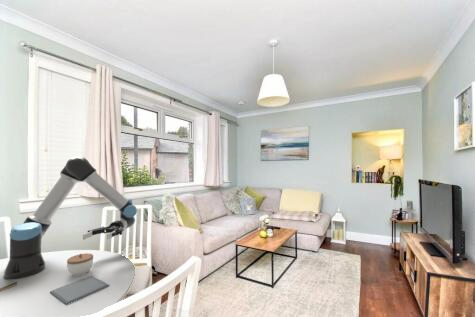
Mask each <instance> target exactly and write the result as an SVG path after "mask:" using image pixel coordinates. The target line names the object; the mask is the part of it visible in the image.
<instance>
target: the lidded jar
mask: <svg viewBox="0 0 475 317" xmlns="http://www.w3.org/2000/svg"><path fill="white" fill-rule="evenodd" d="M93 262H94V254H93V253H89V252H87V253H79V254H76V255H74V256H71V257H69V258H67V260H66V265H67V267H66V268H67V270H68V273H69V274H70V275H72V277H79V276H80V277H81V276H83V275H86V274H88V272H89V271H90V269H91V268H92V266H93V264H94V263H93Z"/></svg>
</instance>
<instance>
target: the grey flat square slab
mask: <svg viewBox="0 0 475 317" xmlns="http://www.w3.org/2000/svg"><path fill="white" fill-rule="evenodd" d="M108 287H110V284H108V283H106V282H105V281H103V280H100V279H99V278H97V277H95V276H93V275H90V276H89V275H88V276H87V277H84V278H82V279H81V278H80V279H78V280H76V281H74V282H71V283H68V284H66V285H63V286H60V287H58V288H55V289H52V290H50V291H49V293H50V294H51V295H52V296H53V297H54V298H56V299H58V300H59V302H61V303H63V304H64V305H65V306H67V304H68V305H70V304H72V303H74V301H75V302H76V300H77V301H79V300H82V299H83V297H84V298H86V297H88V296H90V295H92V294H95V293H97V292H99V291H101V290H104V289H106V288H108ZM78 299H79V300H78ZM71 302H72V303H71ZM69 303H70V304H69Z"/></svg>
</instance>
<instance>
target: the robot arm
mask: <svg viewBox="0 0 475 317" xmlns="http://www.w3.org/2000/svg"><path fill="white" fill-rule="evenodd" d="M59 174H60V178H58V180H57V181H56V183H55V184H54V185H53V187H52V188H51V190H50V191H49V193H48V194H47V195H46V197H44V200H42V202H41V204H40V205H39V206H38V208H37V209H36V210H35V211H34V213H32V214H30V215H28V216H27V217H26V219H24V221H23V223H20V224H16V225H14V226H13V227H12V228H11V229H10V232H9V260H8V261H7V262H8V263H7V264H6V267H5V270H4V274H3V277H4V278H5V279H8V280H9V279H14V280H15V279H20V278H25V277H30V276H32V275H35V274H37V273H40V272H41V271H43V270H45V269H46V262H45V259H44V257H43V255H42V240H43V239H42V238H43V237H44V235H45V234H46V233H47V231H48V230H49V228H50V226H51V225H52V221H51V220H52V219H53V217H54V216H55V214H56V213H57V212H58V210H59V209H60V207H61V205H63V203H64V202H65V200H66V199H67V197H68V196H69V194H70V193H71V191H72V190H73V188H74V187H75V185H76V184H77V183H80V182H82V183H86V184H87V185H88V186H90V188H92V189H93V190H94V191H95V192H97V193H98V194H99V195H100V196H102V197H103V198H104V199H105V200H106V201H107V202H108V203H110V205H112V206H113V207H114V208H116V209H117V210H118V211H119V219H116V220H115V221H113V222H111V223H110V224H109V225H108V226H101V227H98V228H94V229H89V230H87V232H85V233H84V234H82V240H83V241H84V240H86V239H89V238H91V237H93V236H95V235H101V234H106V240H110V239H112V238H113V237H115V236H121V235H123V232H124V231H125V230H126V229H128V228H130V227H132V226H134V224H135V222H136V218H135V216H136V215H137V212H138V209H137V207H136V206H135V205H133V200H132V199H131V198H126V197H125V196H124V195H122V194H121V193H120V192H119V191H118V190H117V189H116V188H115V187H114V186H112V185H111V184H110V183H109V182H108V181H106V179H104V178H103V177H102V176H101V175H100V174H98V172H97V169H96V168H95V167H94V166H92V164H91V163H90V162H89V160H88V159H87V158H86V157H83V156H73V157H71V158H70V159H68V160H67V161H66V163H65V165H64V167H63V169H62V170H61V171H60V172H59Z"/></svg>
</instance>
